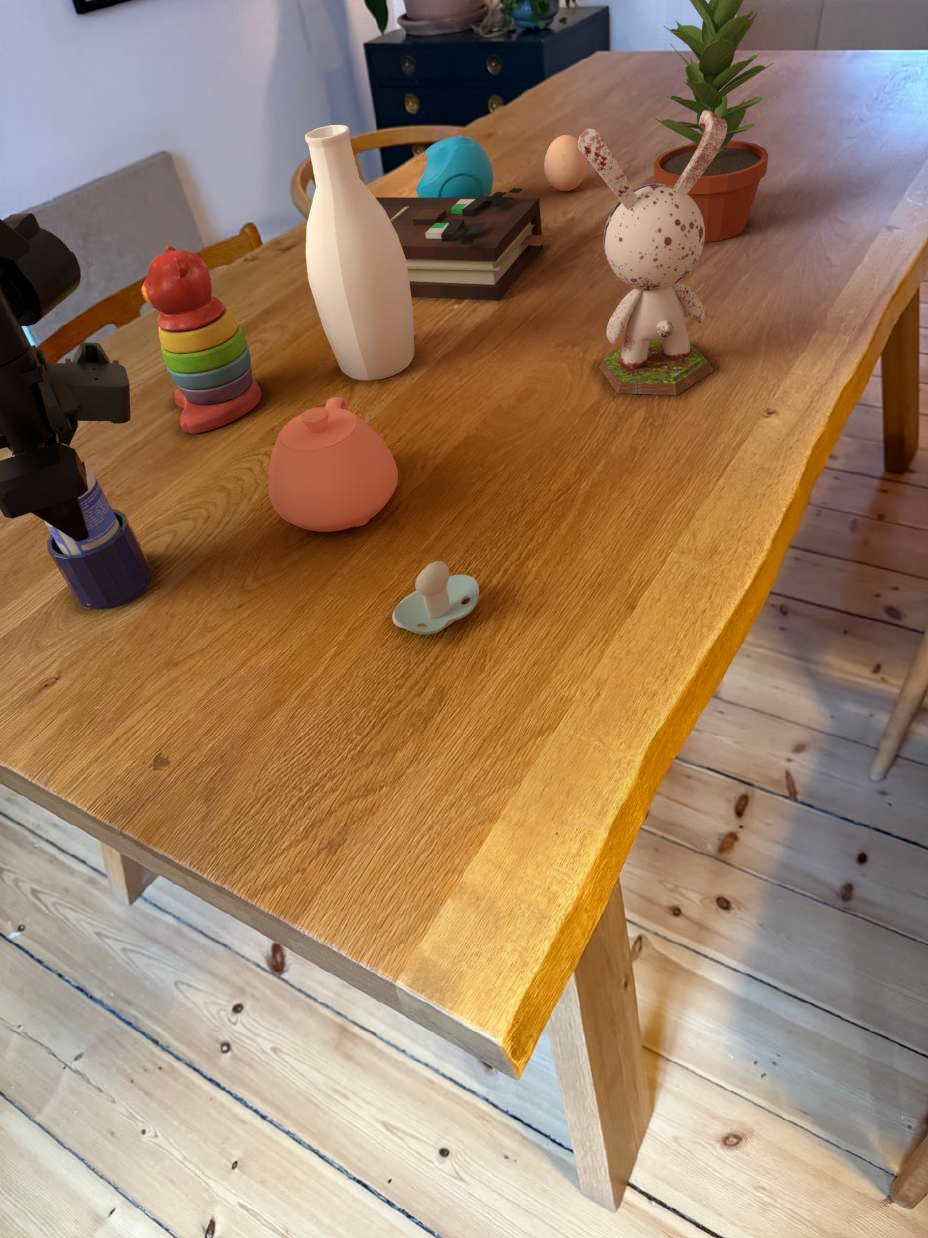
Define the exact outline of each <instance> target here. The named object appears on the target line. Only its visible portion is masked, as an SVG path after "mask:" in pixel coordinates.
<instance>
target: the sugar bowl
mask: <svg viewBox="0 0 928 1238" xmlns="http://www.w3.org/2000/svg"><path fill="white" fill-rule="evenodd" d="M267 470H268V472H267V487H268V496H269V499H270V502H271V505H272V508H273V510H274V511H275V512H276V513H277V514H278V516H279V517H280V518H282V520H285V521H286V522H288V523H290V524H292V525H294V526H296V527H299V528H301V529H304V530H307V531H311V532H318V533H321V532H322V533H325V532H326V533H328V532H337V531H343V530H348V529H350V528H354V527H355V528H358V527H363V526H364V525H366V524H368V522H369V521H370V519H372V518H373V517H375V516H376V515H377V514H379V513H380V512H381V511H382V510H383V508H384V507H385V506H386V504H388V502H389V501H390V499H391V497H392V496H393V494H394V493H395V491H396V488H397V484H398V480H399V471H398V467H397V463H396V460H395V458H394V455H393V454H392V452H391V450H390V449H389V446H388V445H387V444H386V442H385V441H384V439H383V438H382V437H381V436H380V435H379V434H378V433H377V432H376V430H374V429H373V427H371V426H370V425H369V424H367V422H365V420H363V419H362V418H361V417H359V416H358V415H357V414H356V413H353V412H352V411H350V410H349V406H348V403H347V401H346V399H344V398H343V397H339V396H336V397H331V398H329V399H328V400H327V401H326V402H325V407H321V406H320V407H313V408H309V409H307V410H305V411H304V412H302V413H301V414H299V415H296V416H295V417H294V418H291V419H290V420H289V421H288V422H287V423H285V424H284V426H283V427H282V429H280V432H279V434H278V436H277V437H276V441H275V444H274V446H273V450H272V452H271V455H270V460H269V464H268V469H267Z"/></svg>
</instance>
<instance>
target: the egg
mask: <svg viewBox="0 0 928 1238" xmlns="http://www.w3.org/2000/svg"><path fill="white" fill-rule="evenodd" d="M578 140H579V139H578V138H576V137H574V136H572V135H569V134H563V135H559V136H558V137H556V138H555V139H554V140H553V141H552V142H551V143H550V145H549V147H548V148H547V151H546V154H545V155H544V156H545V157H544V162H543V163H544V164H543V165H544V166H543V167H544V168H543V169H544V175H545V177H546V180H547V181H548V183H549V184H550V185H551V187H553V188H554V189H556V190H558V191H560V192H570V191H573V190H574V189H576V188H577V187H579V186H580V185H581V183H582V182H583V180H584V179H585V177H586V174H587V171H588V160H587V158H586V157H585V156H584V155H583V154H582V153H581V151H580V150H579V146H578Z"/></svg>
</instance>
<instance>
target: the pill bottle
mask: <svg viewBox="0 0 928 1238" xmlns="http://www.w3.org/2000/svg"><path fill="white" fill-rule="evenodd" d="M60 444H62V443H60ZM63 445H66V444H63ZM66 446H67V445H66ZM68 447H69V446H68ZM85 469H86V475H87V484H88V491H87V492H86V493H85V494H83V495H82V496H81V497H78V498H79V502H80V505H81V509H82V512H83V516H84V519H85V523H86V526H87V530H88V534H89V538H87V539H85V540H82V541H79V542H77V541H75V540H73V539H72V538H70V537H69V536H67V535H66V534H64V533H62V532H61V531H59V530H58V529H56V528H55V527H53V526H52V525H50V524H49V523H47V522H45V521H44V520H42V521H43V522H44V524H45V526H46V528H47V529H48V531H49V533H50V535H51V534H52V536H53V538H54V539H55V541H56V543H57V545H58V546H59V548H60V550H61V551H62V553H63V555H68V556H72V555H81V554H85V553H88V552H91V551H94V550H97V549H99V548H100V547H102V546H104V545H106V544H107V543H109V542H110V541H111V540H112V539H114V538H115V537H116V536H117V535H118V534H119V532H120V530H121V528H122V527H121V526H120V524H119V522H118V520H117V518H116V516H115V514H114V512H113V510H112V509H113V508H112V506H111V505H110V503H109V501H108V499H107V497H106V495H105V493H104V491H103V489H102V487H101V486H100V483H99V482H98V479H97V477H96V475H95V473H94V472H93V470H92V469H91V468H90V467H88V466H87V465H85Z"/></svg>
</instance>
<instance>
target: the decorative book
mask: <svg viewBox="0 0 928 1238" xmlns="http://www.w3.org/2000/svg"><path fill="white" fill-rule="evenodd" d="M524 189H525V188H523V187H520V188H519V187H513V188H511V189H510V190H509V191H496V192H495V193H493V194H492V195H490V196H479V197H478V198H457V197H418V196H417V197H416V196H415V197H413V196H410V197H407V196H406V197H405V196H403V197H401V196H398V197H396V196H395V197H394V196H393V197H392V196H390V197H388V196H387V197H386V196H382V197H380V196H377V197H375V198H376V199H377V201H378V202H379V203H380V205H381V206H382V207H383V208H384V210H385V211H386V213H387V215H388V217H389V219H390V221H391V223H392V225H393V227H394V229H395V231H396V233H397V235H398V238H399V241H400V244H401V247H402V250H403V252H404V255H405V258H406V261H407V268H408V276H409V283H410V291H411V297H417V298H418V297H419V298H437V299H459V300H460V299H462V300H480V301H481V300H483V301H501V300H502V299H503V297H504V296H505V295H506V294H507V293H508V291H509V290H510V289H511V287H512V286H513V285H514V284H515V283H516V281H517V280H518V279H519V277H521V275H522V274H523V273H524V271H525V270H526V269H527V268H528V267H529V266H530V264H531V263H532V262H533V260H534V259H535V258H536V256H537V255H538V254H539V253H540V252H541V251H542V250H543V247H544V244H543V243H544V242H545V241H546V240H547V239H548V238H549V237H550V235H544V234H543V230H542V217H541V205H540V197H511V196H506V194H509V193H511V194H512V193H513V194H519V193H521V192H522V191H523V190H524Z"/></svg>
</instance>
